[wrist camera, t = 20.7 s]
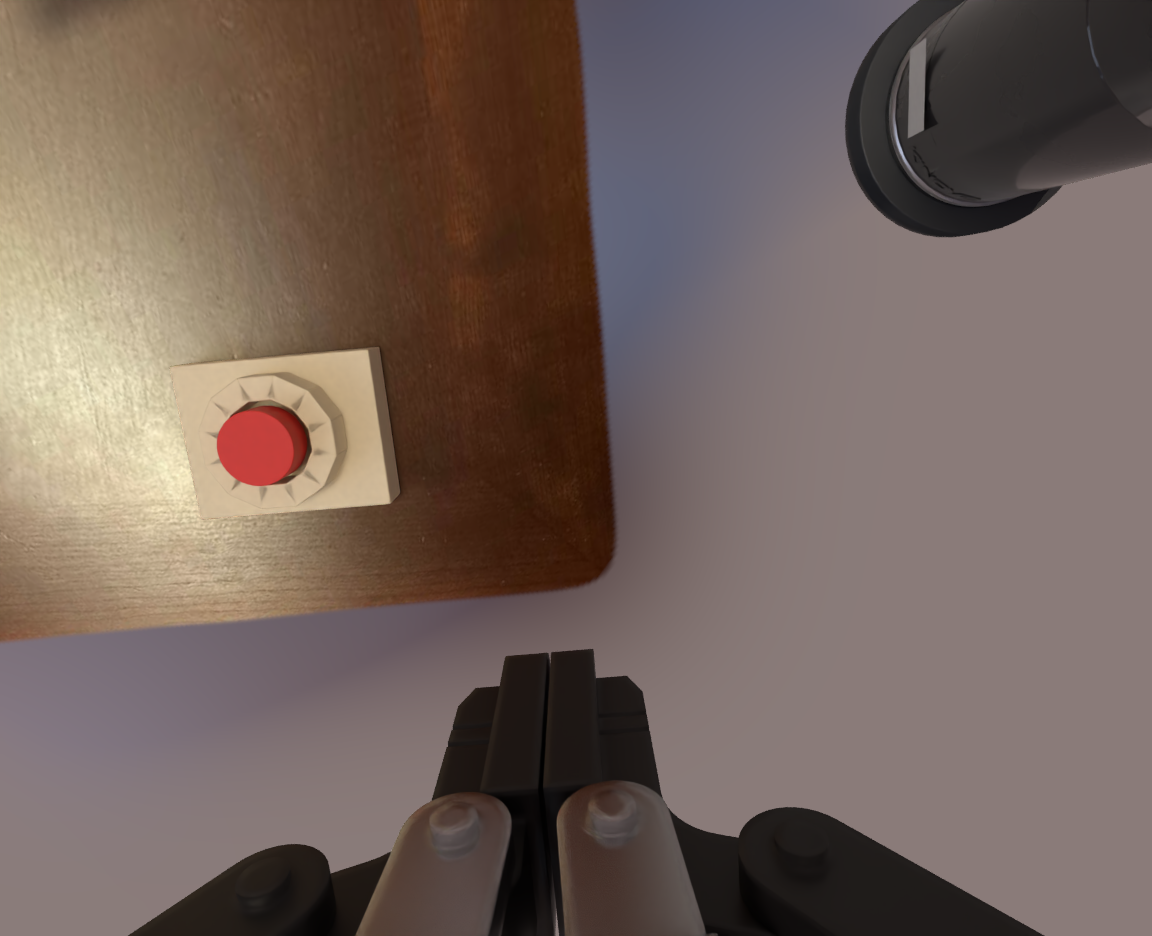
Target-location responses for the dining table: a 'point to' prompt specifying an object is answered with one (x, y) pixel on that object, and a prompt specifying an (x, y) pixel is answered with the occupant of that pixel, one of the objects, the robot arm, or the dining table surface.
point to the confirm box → (324, 409)
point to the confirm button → (261, 445)
